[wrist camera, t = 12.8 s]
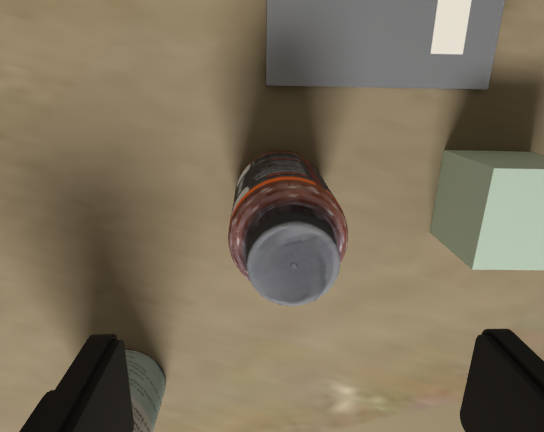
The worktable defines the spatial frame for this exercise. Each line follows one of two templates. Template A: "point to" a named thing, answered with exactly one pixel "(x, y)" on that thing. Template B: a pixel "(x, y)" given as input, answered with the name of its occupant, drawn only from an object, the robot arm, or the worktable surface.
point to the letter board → (382, 43)
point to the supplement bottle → (286, 229)
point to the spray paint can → (144, 389)
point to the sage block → (491, 208)
